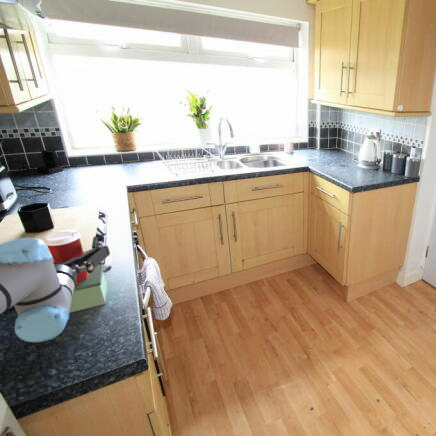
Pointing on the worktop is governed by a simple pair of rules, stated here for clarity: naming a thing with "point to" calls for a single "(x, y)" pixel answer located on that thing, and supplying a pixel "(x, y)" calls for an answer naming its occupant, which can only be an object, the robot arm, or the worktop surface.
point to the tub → (90, 291)
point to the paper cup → (66, 248)
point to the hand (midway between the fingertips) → (66, 245)
